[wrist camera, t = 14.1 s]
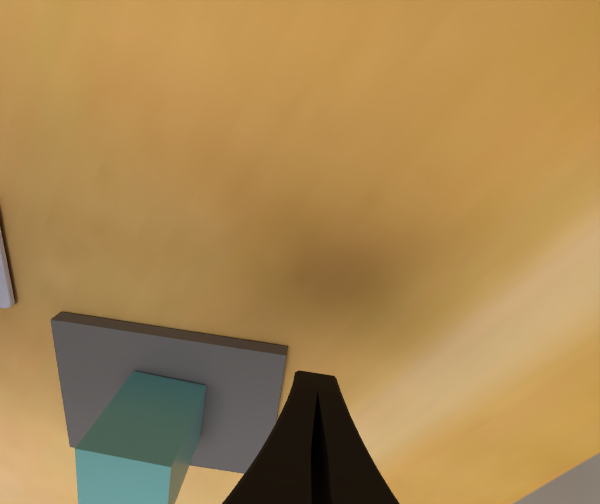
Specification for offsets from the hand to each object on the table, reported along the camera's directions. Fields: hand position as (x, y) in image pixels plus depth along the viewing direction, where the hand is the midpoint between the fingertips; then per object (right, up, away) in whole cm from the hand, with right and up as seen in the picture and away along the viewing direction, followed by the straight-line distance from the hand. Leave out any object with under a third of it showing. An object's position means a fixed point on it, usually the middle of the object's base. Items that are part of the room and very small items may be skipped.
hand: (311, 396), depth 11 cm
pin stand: (-10, -6, +14) cm, 18 cm away
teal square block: (-10, -6, +13) cm, 18 cm away
